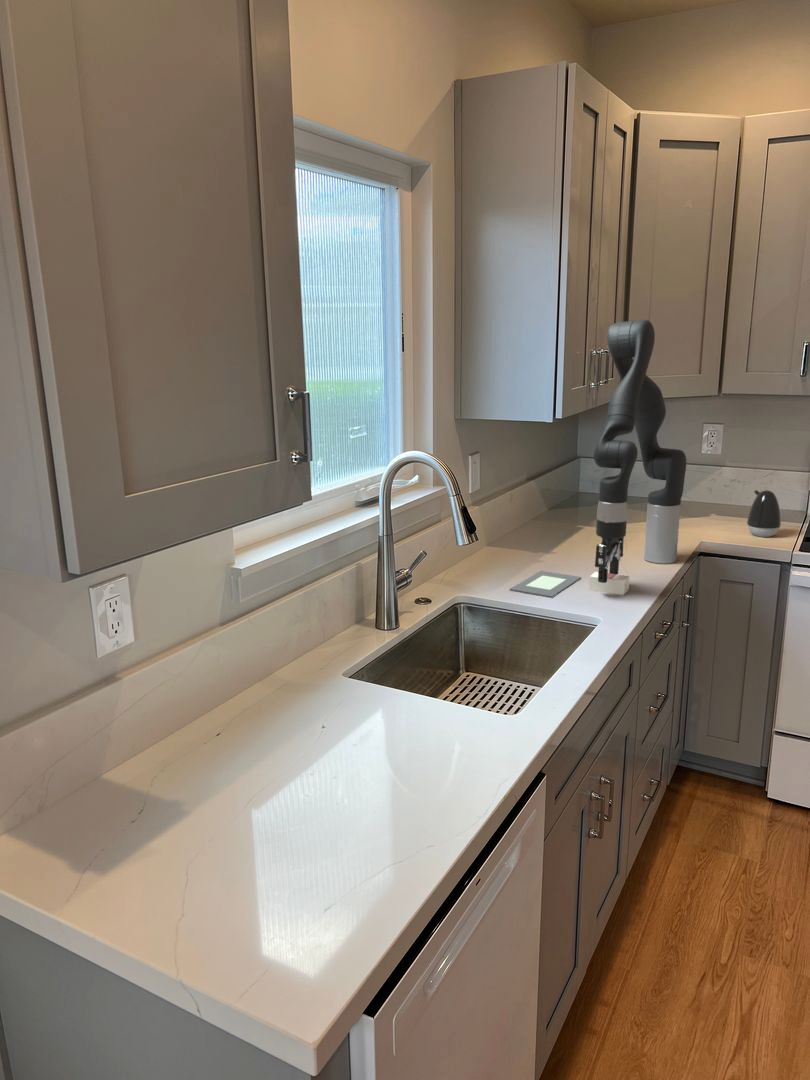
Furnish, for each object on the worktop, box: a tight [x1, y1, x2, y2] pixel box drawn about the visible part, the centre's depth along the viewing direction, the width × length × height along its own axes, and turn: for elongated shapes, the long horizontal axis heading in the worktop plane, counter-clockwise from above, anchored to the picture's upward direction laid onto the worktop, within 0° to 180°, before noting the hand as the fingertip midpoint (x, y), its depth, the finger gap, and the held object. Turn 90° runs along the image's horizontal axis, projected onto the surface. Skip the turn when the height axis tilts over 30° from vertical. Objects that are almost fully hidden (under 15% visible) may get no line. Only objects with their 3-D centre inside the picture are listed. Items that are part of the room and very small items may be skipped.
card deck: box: [588, 571, 630, 596], centre depth 209 cm, size 5×9×4 cm, turn 60°
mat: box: [509, 570, 582, 598], centre depth 215 cm, size 20×12×1 cm, turn 147°
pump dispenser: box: [746, 489, 782, 538], centre depth 263 cm, size 10×10×15 cm
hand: (608, 578), depth 209 cm, fingers open, 8 cm apart
